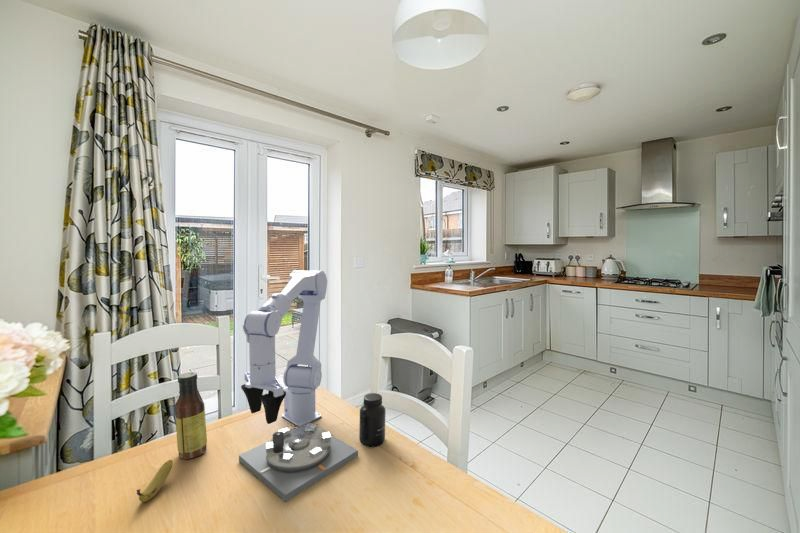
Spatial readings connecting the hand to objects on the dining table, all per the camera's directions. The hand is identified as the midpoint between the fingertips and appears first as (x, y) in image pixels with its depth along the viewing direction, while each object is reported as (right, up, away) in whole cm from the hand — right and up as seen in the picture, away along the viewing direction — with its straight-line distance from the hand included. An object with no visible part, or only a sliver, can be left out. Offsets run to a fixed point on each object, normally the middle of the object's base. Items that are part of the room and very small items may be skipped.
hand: (263, 416), depth 83 cm
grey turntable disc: (+8, -9, +1) cm, 12 cm away
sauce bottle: (-19, -10, +3) cm, 22 cm away
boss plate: (+8, -11, +1) cm, 13 cm away
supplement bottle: (+25, -10, +9) cm, 29 cm away
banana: (-18, -11, -11) cm, 24 cm away
